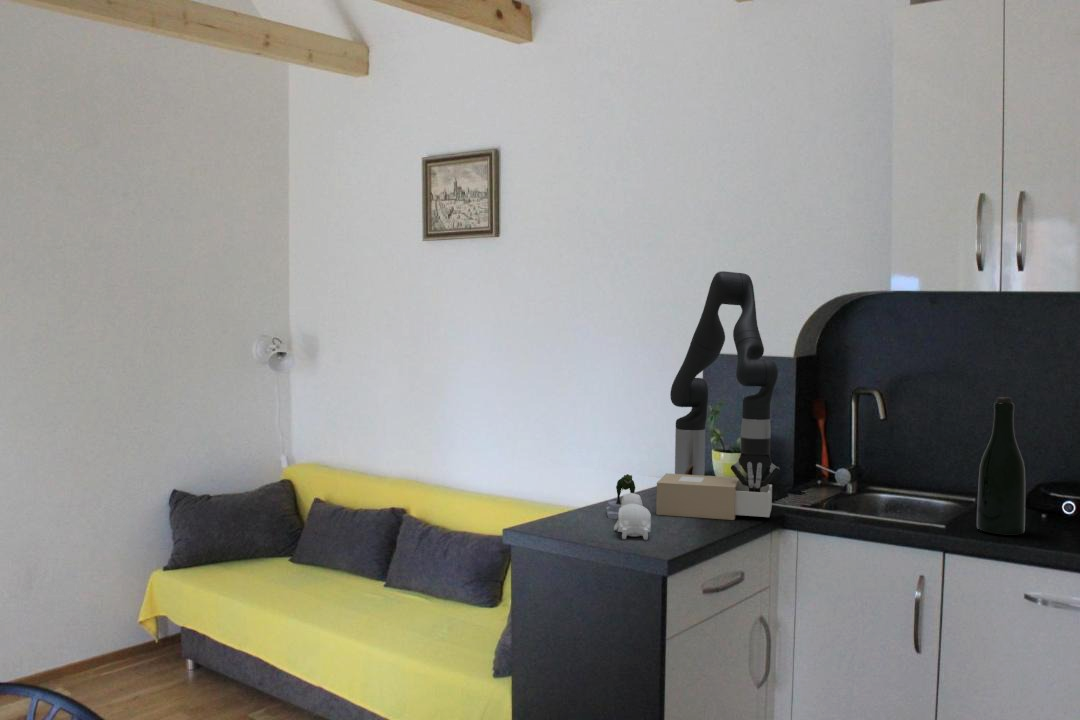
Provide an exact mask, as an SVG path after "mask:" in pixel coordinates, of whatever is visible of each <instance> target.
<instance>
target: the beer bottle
mask: <svg viewBox="0 0 1080 720" xmlns="http://www.w3.org/2000/svg"><path fill="white" fill-rule="evenodd" d="M993 411H994V412H993V426H992V431H991V436H990V439H989V441H988V443H987V446H986V448H985V450H984V452H983V455H982V456H981V461H980V464H979V472H978V473H979V474H978V487H977V505H976V506H977V507H976V528H977V530H978V529H980V530H983V531H987V532H993V533H1001V534H1021V533H1023V534H1024V533H1025V531H1026V530H1025V529H1026V528H1025V527H1026V468H1025V462H1024V459H1023V457H1022V456H1023V455H1022V453H1021V451H1020V449H1019V446H1018V443H1017V440H1016V436H1015V428H1014V427H1015V424H1014V421H1015V419H1014V416H1015V415H1014V413H1015V404H1014V402H1013V398H1012V397H1009V396H998V397H996V402H994V403H993ZM980 530H979V531H980ZM1021 535H1022V534H1021Z"/></svg>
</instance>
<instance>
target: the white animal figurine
mask: <svg viewBox="0 0 1080 720" xmlns="http://www.w3.org/2000/svg"><path fill="white" fill-rule="evenodd" d="M621 500H622V503H621V508H619V512H618V517H619V519H617V521H616V522H615V524H614V526H613V532H618V533H619V532H620V533H621V539H622V540H627V536H629V537H640V536H641V537H642V538H643V541H644V540H645V541H646V540H648V538H649V534H648V533H651V530H652V528H651V527H652V521H651V520H652V514H651V512H650V510H649V509H648V508H646V507H645V506H643V505H642V503H643V501H642V498H641V495H639V494H637V493H635V492H634V493H630V492H629V493H624V494H623V495H622V497H621Z"/></svg>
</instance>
